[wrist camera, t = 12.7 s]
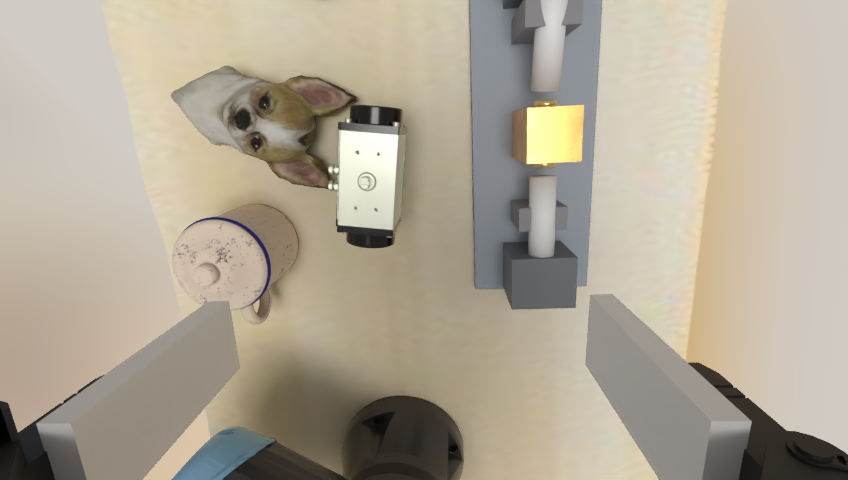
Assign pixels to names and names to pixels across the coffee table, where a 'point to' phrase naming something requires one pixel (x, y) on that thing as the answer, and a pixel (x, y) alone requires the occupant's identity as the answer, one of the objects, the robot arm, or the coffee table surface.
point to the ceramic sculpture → (264, 118)
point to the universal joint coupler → (547, 134)
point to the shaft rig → (520, 183)
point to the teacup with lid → (236, 258)
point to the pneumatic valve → (369, 175)
